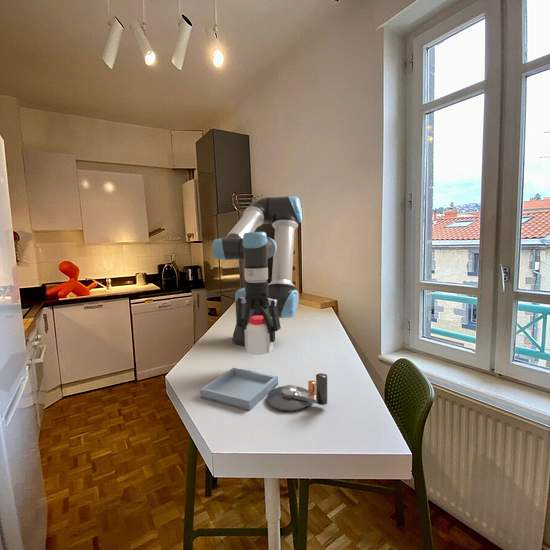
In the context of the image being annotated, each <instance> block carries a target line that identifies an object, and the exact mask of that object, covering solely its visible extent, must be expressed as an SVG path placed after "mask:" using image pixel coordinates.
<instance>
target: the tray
mask: <svg viewBox="0 0 550 550" xmlns="http://www.w3.org/2000/svg"><path fill="white" fill-rule="evenodd" d="M278 385H279V376H277V375H273V374H272V375H271V374H267V373H261V372H256V371H252V370H247V369H241V368H237V367H232V368H230V369H229V370H228V371H226V372H224V373H223V374H221V375H220V376H218V377H217V378H215V379H213V380H212V381H210V382H209V383H207V384H206V385H204V386H202V387H201V388H200V389H199V395H200V399H205V400H209V401H211V402H216V403H220V404H222V405H226V406H229V407H230V406H231V407H234V408H239V409H241V410H245V411H249V412H251V410H253V408H255V406H257V405H258V404H259V403H260V402H261V401H262V400H263V399H264V398H265V397H266V396H267V395H268V393H269V392H270V391H271V390H273V389H275V388H277V386H278Z"/></svg>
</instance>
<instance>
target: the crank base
mask: <svg viewBox="0 0 550 550" xmlns="http://www.w3.org/2000/svg"><path fill="white" fill-rule="evenodd" d="M307 383H308V384H307V386H308V389H306V388H304V387H302V386H296V385H295V386H296V387H297V391H301V392H306V393H310V394H315V395H316V380H309V381H307ZM284 386H285V385H282V386H278V387H275V388H274V389H273V390H271V391H270V392H269V393H268V394H267V395H266V396H267V397H266V399H267V404H268V406H269V407H270V408H272V409H273V410H275V411H278V412H282V413H297V412H302V411H305V410H307V409H308V408H310V407H311V406H312V404H313V403H312V402H308V401H303V400H299V399H295V398H292V399H287V398H284V397H283V396H282V387H284Z"/></svg>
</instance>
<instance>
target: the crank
mask: <svg viewBox="0 0 550 550" xmlns="http://www.w3.org/2000/svg"><path fill="white" fill-rule="evenodd" d="M315 382H316V395H315V394H310V393H306V392H301V391H297V387H296V385H292V384H291V385H290V384H286V385H283V386H284V387H282V386H281V387H282V396H283V397H284V398H287V399H292V398H295V399H299V400H303V401H308V402H312V404H317V405H320V406H325V405H327V404H328V375H327V373H321V372H320V373H317V374H316V375H315Z"/></svg>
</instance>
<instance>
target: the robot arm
mask: <svg viewBox="0 0 550 550" xmlns="http://www.w3.org/2000/svg"><path fill="white" fill-rule="evenodd" d="M301 223H303V212H302V205H301V201H300V199H299V197H298V196H296V195H292V196H291V195H288V196H287V195H285V196H274V197H273V196H272V197H269V196H268V197H262V198H259V199H257V200H255V201H254V202H252V203H250V204H249V205H248V206H247V207H246V208H245V209H244V210H243V213H242V216H241V218H240V219H239V220H238V222H237V223H236V224H235V225H234V226H233V227H232V229H231V230H230V231H229V232H228V234H227V235H226V236H225V237H224V238H222V237H219V238H215V239H214V240H213V242H212V244H211V252H212V255H213V257H214V258H215V259H217V260H223V261H227V260H229V261H231V260H243V272H244V280H245V282H244V287H241V288H239V289H237V290H236V292H235V298H234V299H235V300H234V302H235V303H234V304H235V322H236V323H235V327H234V331H233V334H232V343H234V344H236V345H238V346H239V345H240V346H244V349H246V350H247V329H246V326H247V324H248V323H249V322H250V317H252V316H258V315H261V316H263V318H264V320H265V323H266V325H267V328H268V330H269V332H267V352H268V353H269V354H270V353H271V352H273V351H274V343H275V341H276V332H278V331H280V330H281V328H282V327H281V322H280V319H290V318H294V316H295V315H296V313H297V311H298V306H299V300H300V299H299V297H300V293H299V291H298V290H297V289H296V285H295V284H294V283H293V265H294V247H295V246H294V245H295V244H294V242H295V230H297V229H298V228H299V224H301ZM264 224H271V226H272V228H273V229H274V239H273V238H271V237H269V236H267V233H266V232H265V231H256V229H257V228H259V227H261V226H262V225H264ZM271 258H272V273H271V274H272V275H271V281H270V283H269V281H268V279H269V268H268V267H269V265H268V263H269V262H268V260H269V259H271ZM268 353H267V354H268Z"/></svg>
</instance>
